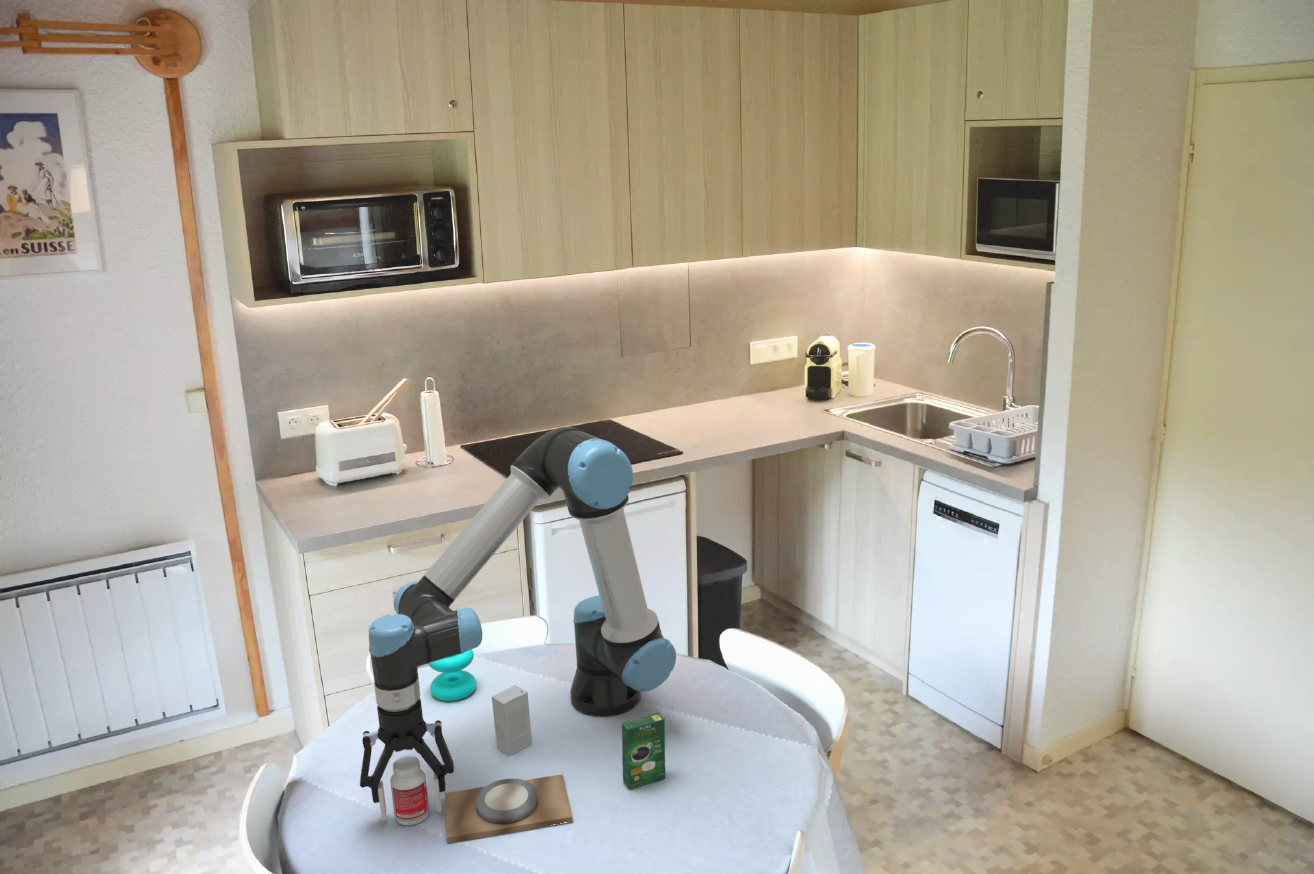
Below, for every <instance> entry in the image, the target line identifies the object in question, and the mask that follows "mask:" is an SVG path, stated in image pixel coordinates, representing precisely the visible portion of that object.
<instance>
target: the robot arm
mask: <svg viewBox="0 0 1314 874" xmlns="http://www.w3.org/2000/svg"><path fill="white" fill-rule="evenodd" d="M509 467H510V475H508V477H507V478H506V479H505V480H504V481H503V483H502V484H501V485H499V487H498V488H497V490H496V491H495V492H494V493H493V494H492V495H491V497H490V498H489V499H488V500H487V501H486V503H485V504H484V505H483V506H482V507H481V508H480V510H479V511H477V512H476V514H475V515H474V516H473V518H471V520H470V521H469V522H468V523H467V525H466V526H464V528H463V530H462V531H460V533H459V534H458V535H457V537H455V539H454V540H453V541H452V542H451V543H450V544H449V546H448V547H447V548H446V549H445V551H444V552H443V553H442V554H441V555H440V556H439V557H438V559H437V560H436V561H435V562H434V563H433V564H432V565H431V567H430V568H429V569H428V570H427V571H426V572H425V573H424V575H423V576H422V577H421V578H420V579H419V580H418V581H409V582H407V583H405V584H404V585H402V586H401V587H400V588H398V590H397V591H396V593H395V595H394V598H393V608H394V611H395V614H386V615H383V616H381V617H379V618H376V619H375V620H374V621H372V623H371V624H370V625H369V628H368V652H369V653H370V654H369V655H370V662H371V667H372V673H373V684H374V693H375V701H376V702H375V703H376V704H377V707H376V708H377V709H376V710H377V717H378V725H379V726H378V728H377V730H375V731H372V732H370V731H369V730H365V731H363V732H362V739H361V740H362V744H363V745H362V746H363V750H364V751H363V757H362V763H361V771H360V779H359V786H360V787H361V788H366V787H369V788H370V789H371V796H372V802H373V803H374V804H378V803H379V809H380V815H381V821H386V820H387V805H386V796H385V795H386V794H385V789H384V781H383V779H382V778H383V776H384V773H385V771H386V768H387V766H388V764H389V762H390V760H391V758H392V756H393V754H394V752H395V753H398V752H399V753H400V752H402V751H413V750H415V752H416V753H417V754H419V755H420V756H421V757H422V759H423V760H424V761H425V763H426V764H427V766H428V767H429V768H430V769H431V770H432V771H433V786H434V787H433V788H434V795H435V804H436V812H441V811H442V801H441V800H442V798H441V793H446V790H447V789H446V788H447V787H446V776H447V775H448V774H449V775H452V774H453V773H454V771H455V766H454V765H455V764H454V760H453V757H452V756H451V753H450V751H449V748H448V745H447V742H446V741H445V740H446V739H445V738H444V735H443V730H442V729H443V728H442V727H443V726H442V724H443V723H442V721H441V720H439V719H438V720H436V721H435V722H433V723H427V722H426V720H424V715H423V708H422V707H423V705H422V699H421V689H420V688H421V687H420V680H419V672H418V671H419V670H418V669H419V667H421V666H425V665H429V664H428V663H431V662H434V661H438V660H441V659H444V658H448V657H451V656H455V655H458V654H463V653H464V652H466V651H469V650H471V649H472V650H474V649H475V648H478V647H480V645H481V644H482V642H483V641H482V640H483V627H482V623H481V621H480V618H479V615H478V614H477V612H476V611H475V610H474V609H473V608H470V607H464V608H457V609H455V610H453V609H451V607H450V606H452V604H453V603H454V601H456V600H457V598H458V597H459V596H460V595H461V593H462V592H463V591H464V590H465V589H466V588H467V586H469V584H470V583H471V582H472V581H473V580H474V579H475V577H476V576H477V574H479V572H481V570H482V569H483V568H484V567H485V566H486V564H487V563H488V562H489V561H490V560H491V558H492V557H493V556H494V555H495V553H496V552H497V551H498V550H499V549H500V548H501V547H502V546H503V544H504V543H505V542H506V541H507V539H508V538H509V537H510V536H511V535H512V534H513V532H515V530H516V529H517V528H518V527H519V525H520V524H521V523H522V522H523V521H524V519H525V518H526V517H527V516H528V515H529V514H530V512H532V510H533V509H534V508H535V506H537V504H538V503H540V501H541V500H547V499H549V498H550V497H552V495H553V493H554V492H555V491H557V489H560V490H562V492H563V493H562V494H563V495H564V500H565V503H566V508H567V510H568V514H569V516H571V518H573V519H576V520H578V521H579V523H580V524H579V525H580V528H581V531H582V532H581V533H582V535H583V536H582V537H583V538H584V542H585V547H586V550H587V554H588V558H589V561H590V565H591V569H592V572H593V576H594V581H595V584H596V588H597V592H598V595H594V596H589V597H588V598H587V597H586V598H584V599H583V600H581V601H579V602H577V604H576V606H575V607H574V610H573V621H572V622H573V626H574V641H575V653H576V654H575V655H576V656H575V657H576V670H575V674H574V676H573V679H572V684H571V687H570V703H571V705H572V707H573V708H574V709H575V710H576V711H578V712H580V713H582V714H584V715H587V716H592V717H593V716H594V717H612V716H617V715H618V716H619V715H621V714H624V713H627V712H628V711H630V710H632V709H634V708H636V706H637V705H638V704H639V702H640V701H641V693H642V692H643V693H644V692H649V691H652V690H655V689H656V688H658V687H660V686H661V685H662V684H664V683H665V682H666V681H667V679H668V678H669V677H670V675H671V673H672V672H673V670H674V668H675V667H676V662H677V651H676V648H675V646H674V645H673V644H672V642H671V641H670V640H669V639H667V638H665V637H664V636H663V633H662V629H661V625H660V622H659V617H658V615H657V613H656V612H655V611H654V610H652V609H650V608H648V604H647V599H646V596H645V593H644V592H645V591H644V587H643V584H642V580H641V576H640V572H639V568H638V563H637V561H636V556H635V552H634V547H633V544H632V540H631V536H630V531H629V528H628V523H627V518H626V515H625V512H624V509H625V507H626V506H627V504H628V503H629V501H630V500H629V499H630V498H629V493H630V491H631V490H630V488H631V486H632V485H633V482H634V472H633V467H632V464H631V461H630V459H629V458H628V456H627V455H626V453H625V452H624V451H622V450H621V449H620V448H619V447H617V445H615V444H614V443H612V442H610V441H609V440H605V439H601V438H599V437H597V436H595V435H593V434H589V433H587V432H585V431H583V430H582V429H579V428H576V427H572V426H571V427H570V426H562V427H557V428H554V429H553V430H552V429H551V430H549V431H548V432H546V433H545V434H544V433H543V434H542V435H541V436H540V437H538V438H537V439H536V440H534V441H533V442H532V443H531V444H530V445H529V446H527V448H526V449H525V450H524V451H523V452H521V454H519V456H518V457H517V458H516V459H515V461H514V462H513V463H512V464H511V465H510V466H509ZM427 732H428V733H429V734H430V736H431V737H432V738H434V741H435V744H436V748H437V751H438V752H439V755H440V757H441V760H442V762H443V764H442V763H441V761H440V760H439V759H438V757H437V756H436V755H435V753H434V752H433V751H432V750H431V748H430V747H429V745H427V743H426V741H425V739H424V738H423V737H424V736H425V734H426V733H427ZM377 740H380V741H381V742H382V743H383V744H384V748H383V750H382V752H381V755H380V757H379V759H378V761H377V764H376V765H375V769H374V771H373V772H372V774H371V776H370V775H369V772H370V767H371V766H370V765H371V760H372V753H373V752H372V751H373V748H372V747H374V746H375V745H376V742H377Z"/></svg>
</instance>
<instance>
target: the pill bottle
mask: <svg viewBox="0 0 1314 874" xmlns="http://www.w3.org/2000/svg"><path fill="white" fill-rule="evenodd" d="M420 762H421V761H420V758H418V757H417V756H414V755H405V756H402V757H399V758H397V759H396V760H395V761H394V762H393V764H392V772H393V773H392V775H391V777H390V789H391V796H392V797H391V798H392V804H393V805H392V806H393V813H394V814H393V815H394V819H395V820H396V822H397V823H398V824H399V825H402V826H413V825H417V824H419V823H421V822H423V821H425V820H426V819H427V818H428V816H429V815H430V804H429V793H428V786H427V778H426V773H425V771H424V769H422V768H421V763H420Z"/></svg>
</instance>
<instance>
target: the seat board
mask: <svg viewBox="0 0 1314 874" xmlns="http://www.w3.org/2000/svg"><path fill="white" fill-rule="evenodd" d="M564 779H565V778H564V774H563V773H559V774H554V775H548V776H542V777H535V778H530V779H519V778H505V779H504V778H503V779H499V780H495V781H493V782H491V783H488V784H486V785H485V786H479V787H475V788H473V787H472V788H467V789H461V790H455V791H449V792H444V808H445V827H446V841H447V844H453V843H458V842H464V841H470V840H476V839H483V838H489V837H493V836H499V835H506V834H512V833H517V832H522V831H523V832H524V831H529V830H535V829H541V827H542V828H547V827H546V826H548V827H551V826H550V825H553V824H560V823H564V822H571V823H573V822H574V821H573V820H574V818H573V813H572V809H571V804H570V800H569V797H568V792H567V787H566V783H565V780H564ZM560 825H561V824H560ZM482 837H483V838H482Z"/></svg>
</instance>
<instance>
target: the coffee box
mask: <svg viewBox="0 0 1314 874" xmlns="http://www.w3.org/2000/svg"><path fill="white" fill-rule="evenodd" d="M665 726H666V720H665V718H664V717H663V716H662V715H661V714H660V713H659V712H655V713H652V714H649V715H645V716H642V717H638V718H633V719H631V720H627V721H623V722H621V754H622V755H621V759H622V762H621V763H622V783H623V786H625V788H626V789H627V790H631V789H637V788H640V787H642V786H645V785H648V784H652V783H653V782H654V783H655V782H658V781H660V780H663V779H666V732H665V731H666V727H665Z"/></svg>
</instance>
